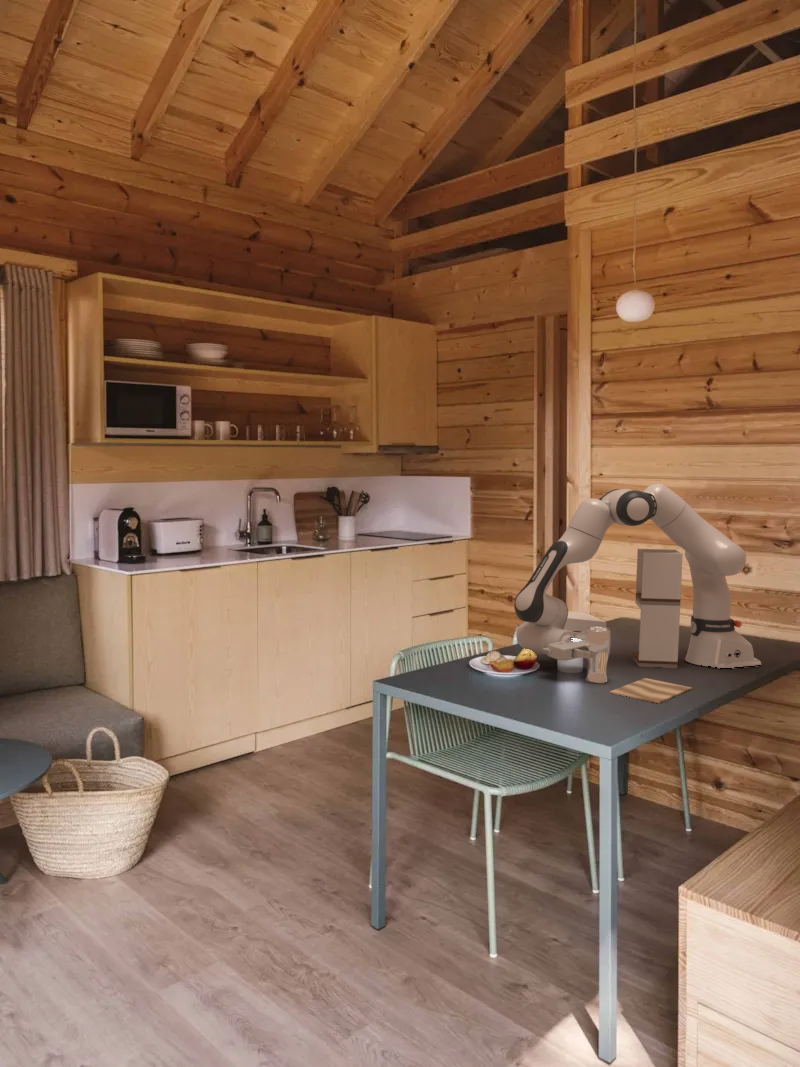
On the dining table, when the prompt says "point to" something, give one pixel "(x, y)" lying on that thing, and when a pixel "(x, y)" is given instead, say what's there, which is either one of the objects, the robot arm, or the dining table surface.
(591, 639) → the beer glass
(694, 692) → the dining table surface
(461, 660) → the dining table surface
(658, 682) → the placemat
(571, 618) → the tan angular block
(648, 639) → the stacked tan pillar
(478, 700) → the dining table surface
